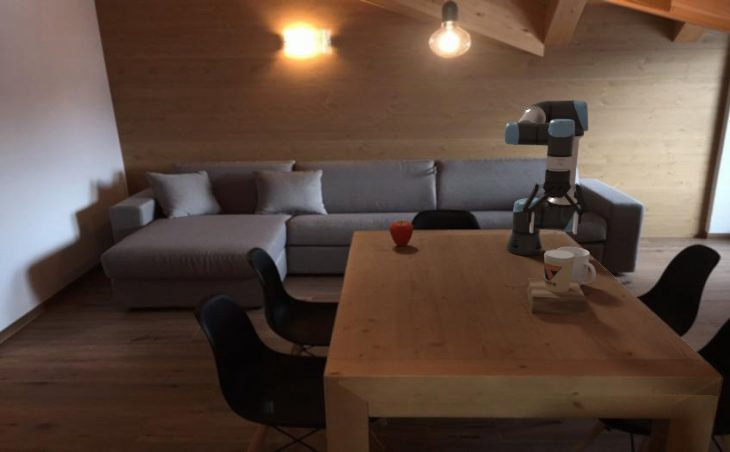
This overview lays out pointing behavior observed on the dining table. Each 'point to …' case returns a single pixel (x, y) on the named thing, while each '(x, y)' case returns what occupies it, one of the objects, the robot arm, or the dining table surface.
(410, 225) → the apple
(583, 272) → the mug
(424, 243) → the dining table surface
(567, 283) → the coffee cup
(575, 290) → the riser
